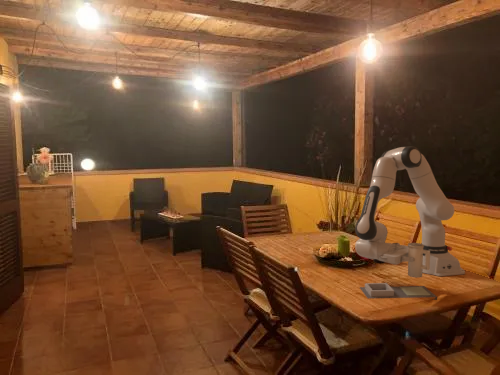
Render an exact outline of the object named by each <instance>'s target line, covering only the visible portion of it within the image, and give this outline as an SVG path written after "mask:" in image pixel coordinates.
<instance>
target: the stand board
mask: <svg viewBox="0 0 500 375" xmlns="http://www.w3.org/2000/svg"><path fill="white" fill-rule="evenodd" d="M359 289H360V290H361V291H362V293H363V294H364V295H365V297H366V298H367V299H404V298H405V299H410V298H419V299H420V298H433V299H432V300H433V301H435V300H438V296H436V294H434V292H432V291H431V290H429V289H428V288H427V287H426V286H425V285H415V286H413V285H411V286H410V285H407V286H401V285H400V286H391V285H389V284H388V282H371V283H369V282H367V283H364V286H359Z"/></svg>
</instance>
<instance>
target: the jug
mask: <svg viewBox="0 0 500 375" xmlns="http://www.w3.org/2000/svg"><path fill="white" fill-rule="evenodd" d="M407 246H408V247H409V249H408V257H414V258H415V259H414V262H407V276H408V277H411V278H416V279H417V278H422V277H423V272H422V270H423V269H425V270H429V269H430V251H428V250H423V248H424V245H423V244H421V243H420V242H411V243H410V242H409V243H407ZM423 253H424V254H426V263H425V266H424V265H423Z"/></svg>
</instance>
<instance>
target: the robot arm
mask: <svg viewBox="0 0 500 375" xmlns="http://www.w3.org/2000/svg"><path fill="white" fill-rule="evenodd" d="M403 170H406V172H407V174H408V177H409V179H410V182H411V185H412V186H413V189H414V192H415V193H416V194H417V195H418V196H419V197H418V199H417V200H416V202H415V208H416V210H417V212H418V215H419V220H420V225H421V243H420V244H423V245H424V248H423V250H428V251H430V269H429V270H425V269H423V270H422V274H427V275H434V276H437V277H447V276H456V275H458V276H459V275H465V274H466V270H464V269H463V268H462V267H461V263H460V260H459V259H458V258H457V257H456V256H454V255H453V254H452V253H450V252H452V250H453V248H452V247H451V246H450V245H446V230H445V227H444V225H443V222H442V221H449V220H450V219H451V218H452V217H453V215H455V207H454V205H453V203H451V202H450V201H449V199H447V197H446V195H445V194H444V192H443V190H442V189H441V188H440V186H439V184H438V183H437V180H436V178H435V175H434V173H433V170H432V168H431V165H430V164H429V162H428V161H427V159H426V157H425V155H424V154H422V153H421V151H420V150H419V148H417V147H415V146H409V145H407V146H401V147H397V148H393V149H389V150H385V151H384V152H383V153H382V155H381V156H380V157H379V158H378V159H377V160H376V162H375V164H374V167H373V170H372V174H371V181H370V186H369V188H368V190H367V191H366V195H365V199H364V202H363V206H362V209H361V214H360V216H359V219H358V220H357V221H356V223H355V226H354V229H355V235H356V236H357V237H358V238H359V239H357V240H356V241H355V245H354V246H355V247H354V248H355V252H356V253H357V255H359V256H360V257H363V258H364V259H365V258H366V259H370V260H373V259H377V260H379V261H384V262H385V263H388V264H391V265H400V264H401V263H404V262H405V263H406V262H407V263H408V262H414V259H415V258H414V257H408V249H409V247H408V245H404V244H400V243H399V242H392V243H391V242H386V240H387V237H388V231H389V230H388V228H387V226H386V225H385V224H384V223H382V222H378V221H376V220H375V219H376V218H375V216H376V213H377V209H378V205H379V203H380V201H381V200H382V199H383V198H387V197H389V196H390V195H391V194H392V193H393V191H394V188H395V186H396V178H397V171H403ZM449 251H450V252H449ZM425 263H426V254H424V253H423V265H424V266H425Z"/></svg>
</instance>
